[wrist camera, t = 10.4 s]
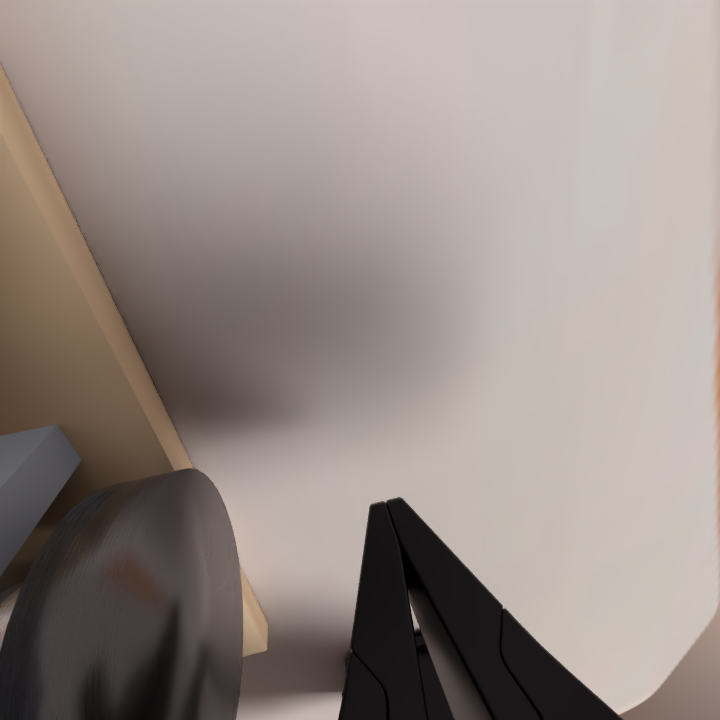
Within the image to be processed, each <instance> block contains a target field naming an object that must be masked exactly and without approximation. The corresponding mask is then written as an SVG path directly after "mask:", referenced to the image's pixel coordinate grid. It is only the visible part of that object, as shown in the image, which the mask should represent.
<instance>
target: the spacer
mask: <svg viewBox="0 0 720 720" xmlns="http://www.w3.org/2000/svg"><path fill="white" fill-rule="evenodd" d="M80 462H81V458H80V457H79V455H78V454H77V452H76V451H75V449H74V448H73V446H72V445H71V444H70V442H69V441H68V439H67V438H66V436H65V435H64V433H63V432H62V430H61V429H60V427H59V426H58V424H56V425H51V426H46V427H41V428H37V429H32V430H27V431H22V432H17V433H12V434H7V435H2V436H0V577H1V575H2V574H3V572H4V571H5V569H6V568H7V566H8V565H9V564H10V562H11V561H12V559H13V558H14V556H15V555H16V554H17V552H18V551H19V549H20V548H21V546H22V545H23V544H24V542H25V541H26V539H27V538H28V536H29V535H30V534H31V532H32V531H33V529H34V528H35V526H36V525H37V523H38V522H39V521H40V519H41V518H42V516H43V515H44V513H45V512H46V511H47V509H48V508H49V506H50V505H51V503H52V502H53V501H54V499H55V498H56V496H57V495H58V493H59V492H60V491H61V489H62V488H63V486H64V485H65V483H66V482H67V481H68V479H69V478H70V476H71V475H72V473H73V472H74V470H75V469H76V468H77V466H78V465H79V463H80Z"/></svg>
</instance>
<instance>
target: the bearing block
mask: <svg viewBox="0 0 720 720" xmlns="http://www.w3.org/2000/svg"><path fill="white" fill-rule="evenodd" d="M56 424H58V426H59V427H60V429H61V430H62V432H63V433H64V435H65V436H66V438H67V439H68V441H69V442H70V444H71V445H72V446H73V448H74V449H75V451H76V452H77V454H78V455H79V457H80V458H81V462H80V463H79V465H78V466H77V468H76V469H75V470H74V472H73V473H72V475H71V476H70V478H69V479H68V481H67V482H66V483H65V485H64V486H63V488H62V489H61V491H60V492H59V493H58V495H57V496H56V498H55V499H54V501H53V502H52V503H51V505H50V506H49V508H48V509H47V511H46V512H45V513H44V515H43V516H42V518H41V519H40V521H39V522H38V523H37V525H36V526H35V528H34V529H33V531H32V532H31V534H30V535H29V536H28V538H27V539H26V541H25V542H24V544H23V545H22V546H21V548H20V549H19V551H18V552H17V554H16V555H15V556H14V558H13V559H12V561H11V562H10V564H9V565H8V566H7V568H6V569H5V571H4V572H3V574H2V575H1V577H0V588H2V587H6V586H11V585H15V584H19V583H23V582H24V581H25V579H26V577H27V574H28V572H29V570H30V568H31V566H32V564H33V562H34V561H35V559H36V557H37V555H38V554H39V552H40V550H41V548H42V547H43V545H44V543H45V542H46V540H47V539H48V537H49V536H50V535H51V533H52V532H53V530H54V529H55V528H56V526H57V525H58V523H59V522H60V521H61V520H62V519H63V518H64V517H65V516H66V515H67V513H68V512H69V511H70V510H71V509H72V508H73V507H74V506H76V505H77V504H78V503H79V502H80V501H81V500H82V499H84V498H85V497H87V496H88V495H90V494H91V493H93V492H95V491H96V490H98V489H101V488H103V487H106V486H109V485H113V484H118V483H122V482H127V481H131V480H136V479H140V478H145V477H149V476H154V475H159V474H163V473H168V472H172V471H177V470H181V469H187V468H192V469H194V468H193V466H192V464H191V462H190V460H189V458H188V456H187V454H186V451H185V449H184V447H183V445H182V443H181V441H180V439H179V437H178V435H177V433H176V430H175V428H174V426H173V424H172V422H171V420H170V418H169V416H168V414H167V412H166V410H165V407H164V405H163V403H162V401H161V399H160V397H159V395H158V393H157V391H156V389H155V387H154V384H153V382H152V380H151V378H150V376H149V374H148V372H147V370H146V368H145V366H144V364H143V361H142V359H141V357H140V355H139V353H138V351H137V349H136V347H135V345H134V343H133V340H132V338H131V336H130V334H129V332H128V330H127V328H126V326H125V324H124V322H123V320H122V317H121V315H120V313H119V311H118V309H117V307H116V305H115V303H114V301H113V299H112V297H111V294H110V292H109V290H108V288H107V286H106V284H105V282H104V280H103V278H102V276H101V273H100V271H99V269H98V267H97V265H96V263H95V261H94V259H93V257H92V255H91V253H90V250H89V248H88V246H87V244H86V242H85V240H84V238H83V236H82V234H81V232H80V230H79V227H78V225H77V223H76V221H75V219H74V217H73V215H72V213H71V211H70V209H69V207H68V204H67V202H66V200H65V198H64V196H63V194H62V192H61V190H60V188H59V186H58V183H57V181H56V179H55V177H54V175H53V173H52V171H51V169H50V167H49V165H48V163H47V160H46V158H45V156H44V154H43V152H42V150H41V148H40V146H39V144H38V142H37V140H36V137H35V135H34V133H33V131H32V129H31V127H30V125H29V123H28V121H27V119H26V117H25V114H24V112H23V110H22V108H21V106H20V104H19V102H18V100H17V98H16V96H15V93H14V91H13V89H12V87H11V85H10V83H9V81H8V79H7V77H6V75H5V73H4V70H3V68H2V66H1V64H0V436H2V435H7V434H12V433H17V432H22V431H27V430H32V429H37V428H41V427H46V426H51V425H56ZM239 566H240V564H239ZM240 573H241V584H242V598H243V657H245V656H249V655H252V654H256V653H260V652H263V651H267V642H268V623H267V621H266V619H265V617H264V615H263V613H262V611H261V608H260V606H259V604H258V602H257V600H256V598H255V596H254V594H253V592H252V590H251V587H250V585H249V583H248V581H247V579H246V577H245V575H244V573H243V571H242V569H241V567H240Z"/></svg>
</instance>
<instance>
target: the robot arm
mask: <svg viewBox="0 0 720 720" xmlns="http://www.w3.org/2000/svg"><path fill="white" fill-rule="evenodd" d="M409 600H410V602H409ZM410 603H411V606H412V608H413V611H414V614H415V616H416V619H417V622H418V624H419V627H420V630H421V632H422V635H421V636H417V637H415V632H414V626H413V620H412V614H411V608H410ZM350 650H351V652H350V653H349V657H347V658H346V659H345V668H346V679H345V685H344V690H343V692H342V703H341V708H340V713H339V718H338V720H623V719H622V718H621V717H620V716H619V715H618V714H617V713H616V712H614V711H613V710H612V709H611V708H610V707H609V706H608V705H607V704H605V703H604V702H603V701H602V700H601V699H600V698H599V697H598V696H596V695H595V694H594V693H593V692H592V691H591V690H590V689H589V688H587V687H586V686H585V685H584V684H583V683H582V682H581V681H580V680H578V679H577V678H576V677H575V676H574V675H573V674H572V673H571V672H569V671H568V670H567V669H566V668H565V667H564V666H563V665H562V664H561V663H560V662H559V661H558V660H556V659H555V658H554V657H553V656H552V655H551V654H550V653H549V652H548V651H547V650H546V649H545V648H544V647H542V646H541V645H540V644H539V643H538V642H537V641H536V640H535V639H534V637H533V636H532V635H531V634H530V633H529V632H528V631H527V630H526V629H525V628H524V627H523V626H522V625H521V624H520V623H519V622H518V621H517V620H516V619H515V618H514V617H513V616H512V615H511V614H510V613H509V611H508V610H507V609H505V608H504V609H503V606H502V604H501V603H500V602H499V601H498V600H497V599H496V598H495V597H494V596H493V595H492V594H491V592H490V591H489V590H488V589H487V588H486V587H485V586H484V585H483V584H482V583H481V582H480V581H479V580H478V579H477V578H476V576H475V575H474V574H473V573H472V572H471V571H470V570H469V569H468V568H467V567H466V566H465V565H464V564H463V563H462V561H461V560H460V559H459V558H458V557H457V556H456V555H455V554H454V553H453V552H452V551H451V550H450V549H449V548H448V547H447V545H446V544H445V543H444V542H443V541H442V540H441V539H440V538H439V537H438V536H437V535H436V534H435V533H434V532H433V530H432V529H431V528H430V527H429V526H428V525H427V524H426V523H425V522H424V521H423V520H422V519H421V518H420V517H419V516H418V514H417V513H416V512H415V511H414V510H413V509H412V508H411V507H410V506H409V505H408V504H407V503H406V502H405V501H404V500H403V499H402V498H400V497H398V498H394V499H390V500H387V501H386V503H385V502H384V501H382V502H377V503H373V504H371V505H370V508H369V515H368V522H367V529H366V536H365V544H364V551H363V558H362V566H361V573H360V580H359V587H358V595H357V602H356V609H355V616H354V624H353V631H352V638H351V645H350Z"/></svg>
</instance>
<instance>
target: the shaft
mask: <svg viewBox="0 0 720 720" xmlns="http://www.w3.org/2000/svg"><path fill="white" fill-rule="evenodd" d="M242 659H243V598H242V584H241V573H240V566H239V558H238V553H237V547H236V542H235V537H234V533H233V529H232V525H231V521H230V518H229V515H228V512H227V509H226V507H225V504H224V502H223V500H222V498H221V496H220V494H219V492H218V490H217V488H216V487H215V485H214V484H213V482H212V481H211V480H210V479H209V478H208V477H207V476H206V475H205V474H204V473H203V472H201V471H199V470H197V469H192V468H187V469H181V470H177V471H172V472H168V473H163V474H159V475H154V476H149V477H145V478H140V479H136V480H131V481H127V482H122V483H118V484H113V485H109V486H106V487H103V488H101V489H98V490H96V491H95V492H93V493H91V494H90V495H88V496H87V497H85V498H84V499H82V500H81V501H80V502H79V503H78V504H77V505H76V506H74V507H73V508H72V509H71V510H70V511H69V512H68V513H67V515H66V516H65V517H64V518H63V519H62V520H61V521H60V522H59V523H58V525H57V526H56V528H55V529H54V530H53V532H52V533H51V535H50V536H49V537H48V539H47V540H46V542H45V543H44V545H43V547H42V548H41V550H40V552H39V554H38V555H37V557H36V559H35V561H34V562H33V564H32V566H31V568H30V570H29V572H28V574H27V577H26V579H25V581H24V582H23V583H19V584H15V585H11V586H6V587H2V588H0V720H236V715H237V708H238V701H239V694H240V684H241V674H242Z"/></svg>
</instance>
